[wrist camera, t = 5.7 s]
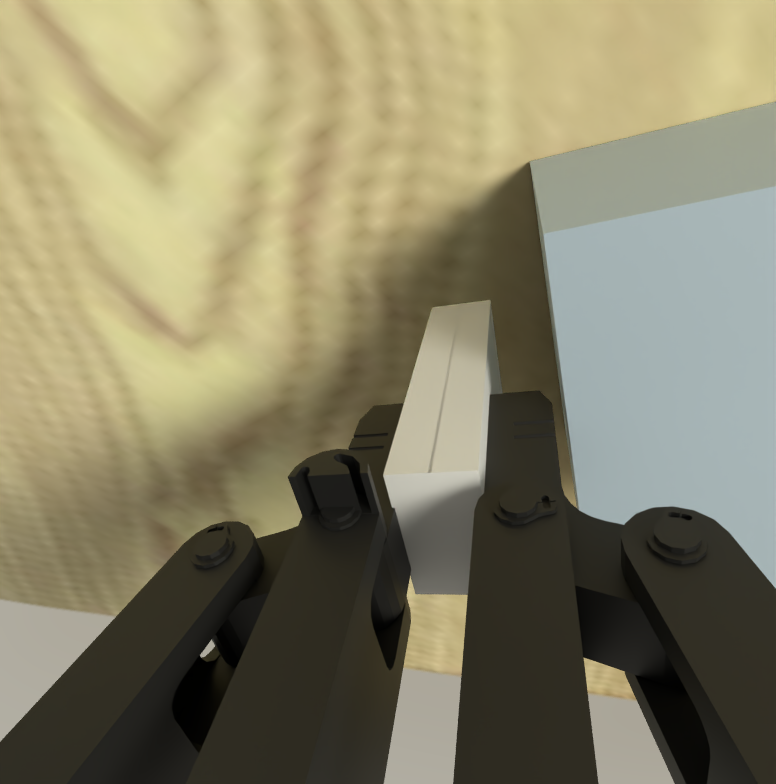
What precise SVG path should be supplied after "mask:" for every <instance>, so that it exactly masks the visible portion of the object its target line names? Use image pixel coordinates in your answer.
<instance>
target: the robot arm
mask: <svg viewBox="0 0 776 784" xmlns="http://www.w3.org/2000/svg"><path fill="white" fill-rule="evenodd" d="M288 479H289V481H290V484H291V487H292V489H293V492H294V495H295V497H296V500H297V502H298V505H299V508H300V510H301V513H302V518H301V521H300V523H299V525H298V526H297V527H294V528H291V529H289V530H286V531H282V532H279V533H275V534H271V535H268V536H264V537H261V538H257V539H256V538H255V536H254V534H253V532H252V531H251V529H250V527H249V526H248V525H245V524H243V523H241V522H222V523H218V524H215V525H211V526H209V527H207V528H205V529H203V530H201V531H200V532H198V533H196V534H195V535H194V536H192V537H191V538H190V539H189V540H188V541H187V542H185V543H184V544H183V545H182V546H181V547H180V549H179V550H178V551H177V552H176V553H175V554H174V555H173V556H172V557H171V558H170V559H169V560H168V561H167V563H166V564H165V565H164V566H163V567H162V568H161V569H160V570H159V571H158V572H157V573H156V574H155V576H154V577H153V578H152V579H151V580H150V581H149V582H148V583H147V584H146V585H145V586H144V587H143V588H142V590H141V591H140V592H139V593H138V594H137V595H136V596H135V597H134V598H133V599H132V600H131V601H130V602H129V604H128V605H127V606H126V607H125V608H124V609H123V610H122V611H121V612H120V613H119V614H118V615H117V616H116V618H115V619H114V620H113V621H112V622H111V623H110V624H109V625H108V626H107V627H106V628H105V629H104V631H103V632H102V633H101V634H100V635H99V636H98V637H97V638H96V639H95V640H94V641H93V642H92V643H91V645H90V646H89V647H88V648H87V649H86V650H85V651H84V652H83V653H82V654H81V655H80V656H79V657H78V659H77V660H76V661H75V662H74V663H73V664H72V665H71V666H70V667H69V668H68V669H67V671H66V672H65V673H64V674H63V675H62V676H61V677H60V678H59V679H58V680H57V681H56V682H55V684H54V685H53V686H52V687H51V688H50V689H49V690H48V691H47V692H46V693H45V694H44V695H43V696H42V698H40V700H39V701H38V702H37V703H36V704H35V705H34V706H33V707H32V708H31V709H30V710H29V712H28V713H27V714H26V715H25V716H24V717H23V718H22V719H21V720H20V721H19V722H18V723H17V724H16V725H15V727H14V728H13V729H12V730H11V731H10V732H9V733H8V734H7V735H6V736H5V738H3V740H2V741H1V742H0V784H383V783H384V778H385V772H386V766H387V760H388V754H389V748H390V742H391V736H392V731H393V725H394V719H395V712H396V707H397V701H398V695H399V689H400V683H401V677H402V671H403V665H404V659H405V654H406V648H407V642H408V636H409V630H410V624H411V615H410V607H409V604H408V600H407V597H406V595H407V590H408V584H409V579H410V575H411V579H412V583H413V586H414V590H415V593H416V594H457V595H468V599H467V612H466V625H465V638H464V651H463V664H462V677H461V690H460V703H459V716H458V730H457V743H456V755H455V769H454V782H453V784H598V777H597V768H596V760H595V751H594V744H593V734H592V726H591V718H590V709H589V701H588V692H587V684H586V676H585V667H584V659H583V657H584V658H587V659H590V660H593V661H596V662H599V663H602V664H605V665H608V666H611V667H614V668H617V669H620V670H623V671H625V675H626V677H627V680H628V682H629V684H630V686H631V688H632V691H633V693H634V695H635V697H636V699H637V702H638V704H639V706H640V708H641V710H642V712H643V715H644V717H645V719H646V721H647V723H648V726H649V728H650V730H651V732H652V735H653V737H654V739H655V741H656V743H657V746H658V748H659V750H660V752H661V754H662V757H663V759H664V761H665V763H666V765H667V768H668V770H669V772H670V774H671V776H672V778H673V781H674V783H675V784H776V588H775V587H774V586H773V585H772V583H771V582H770V581H769V580H768V579H767V577H766V576H765V575H764V574H763V573H762V571H761V570H760V569H759V568H758V567H757V565H756V564H755V563H754V562H753V560H752V559H751V558H750V557H749V556H748V554H747V553H746V552H745V551H744V550H743V548H742V547H741V546H740V545H739V544H738V542H737V541H736V540H735V539H734V538H733V536H732V535H731V534H730V533H729V532H728V531H727V530H726V529H725V528H724V527H722V526H721V525H720V524H719V523H718V522H717V521H715V520H714V519H712V518H710V517H708V516H706V515H704V514H701V513H699V512H697V511H695V510H690V509H685V508H679V507H674V506H670V507H653V508H650V509H647V510H644V511H642V512H639V513H636V514H635V515H634V516H633V517H632V518H631V519H629V520H628V521H627V522H626V523H625V525H623V524H618V523H613V522H608V521H604V520H601V519H598V518H594V517H591V516H589V515H587V514H585V513H583V512H581V511H579V510H578V509H577V508H576V507H574V506H573V505H572V504H571V503H570V502H569V501H568V499H567V498H566V497H565V495H564V492H563V489H562V485H561V477H560V468H559V460H558V451H557V443H556V435H555V426H554V418H553V409H552V403H551V402H550V401H549V400H548V399H547V398H546V397H545V396H544V395H543V394H542V393H541V392H540V390H539V391H527V392H515V393H502V385H501V377H500V369H499V361H498V354H497V346H496V338H495V330H494V323H493V315H492V307H491V300H485V301H477V302H470V303H462V304H454V305H446V306H438V307H432V309H431V313H430V316H429V320H428V323H427V326H426V330H425V333H424V337H423V340H422V344H421V347H420V350H419V354H418V357H417V361H416V364H415V368H414V371H413V374H412V378H411V381H410V385H409V388H408V391H407V395H406V398H405V402H404V404H392V405H380V406H374V407H373V408H372V409H371V410H370V411H369V412H368V413H367V414H366V415H365V416H363V417H362V418H361V419H360V421H359V424H358V426H357V429H356V431H355V434H354V438H353V439H352V441H351V444H350V446H349V450H345V449H335V450H330V451H324V452H321V453H319V454H316V455H314V456H311V457H309V458H307V459H306V460H304V461H303V462H302V463H300V464H299V465H297V466H296V467H295V468H294V470H293V471H292V472H291V474H290V475H289V476H288ZM211 639H212V641H213V642H214V644H215V647H214V649H213V650H212V651H211V652H210V653H209V654H207V655H206V656H205V657H202V658H201V657H200V654H201V653H202V651H203V650H204V649H205V647H206V646H207V645H208V643H209V642H210V641H211Z"/></svg>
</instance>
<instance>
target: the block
mask: <svg viewBox="0 0 776 784" xmlns="http://www.w3.org/2000/svg"><path fill="white" fill-rule="evenodd" d="M530 168H531V175H532V183H533V190H534V198H535V205H536V213H537V220H538V228H539V235H540V243H541V250H542V258H543V265H544V273H545V280H546V288H547V295H548V303H549V310H550V318H551V325H552V333H553V340H554V348H555V355H556V363H557V370H558V378H559V385H560V393H561V400H562V408H563V415H564V423H565V430H566V437H567V444H568V451H569V457H570V464H571V471H572V477H573V484H574V491H575V497H576V504H577V509H578V510H579V511H581V512H583V513H585V514H587V515H589V516H591V517H594V518H598V519H601V520H604V521H608V522H613V523H618V524H623V525H625V523H626V522H627V521H628V520H629V519H631V518H632V517H633V516H634V515H635V514H636V513H639V512H642V511H644V510H647V509H650V508H653V507H670V506H674V507H679V508H685V509H690V510H695V511H697V512H699V513H701V514H704V515H706V516H708V517H710V518H712V519H714V520H715V521H717V522H718V523H719V524H720V525H721V526H722V527H724V528H725V529H726V530H727V531H728V532H729V533H730V534H731V535H732V536H733V538H734V539H735V540H736V541H737V542H738V544H739V545H740V546H741V547H742V548H743V550H744V551H745V552H746V553H747V554H748V556H749V557H750V558H751V559H752V560H753V562H754V563H755V564H756V565H757V567H758V568H759V569H760V570H761V571H762V573H763V574H764V575H765V576H766V577H767V579H768V580H769V581H770V582H771V583H772V585H773V586H774V587H775V588H776V102H772V103H768V104H764V105H760V106H756V107H752V108H748V109H743V110H739V111H735V112H731V113H727V114H723V115H719V116H715V117H711V118H706V119H702V120H698V121H694V122H690V123H686V124H682V125H678V126H674V127H669V128H665V129H661V130H657V131H653V132H649V133H645V134H641V135H636V136H632V137H628V138H624V139H620V140H616V141H612V142H608V143H604V144H599V145H595V146H591V147H587V148H583V149H579V150H575V151H571V152H567V153H562V154H558V155H554V156H550V157H546V158H542V159H538V160H534V161H530Z"/></svg>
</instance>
